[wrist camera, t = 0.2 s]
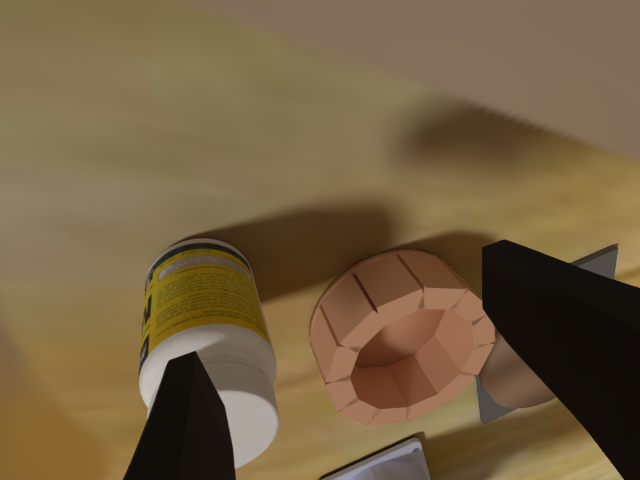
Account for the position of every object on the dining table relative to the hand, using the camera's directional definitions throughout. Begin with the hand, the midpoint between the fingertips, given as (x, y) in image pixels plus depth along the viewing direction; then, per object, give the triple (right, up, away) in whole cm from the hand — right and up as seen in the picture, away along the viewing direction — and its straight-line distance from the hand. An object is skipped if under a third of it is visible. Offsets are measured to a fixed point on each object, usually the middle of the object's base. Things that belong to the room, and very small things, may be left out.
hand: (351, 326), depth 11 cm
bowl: (+3, -2, +14) cm, 15 cm away
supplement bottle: (-6, 0, +10) cm, 12 cm away
